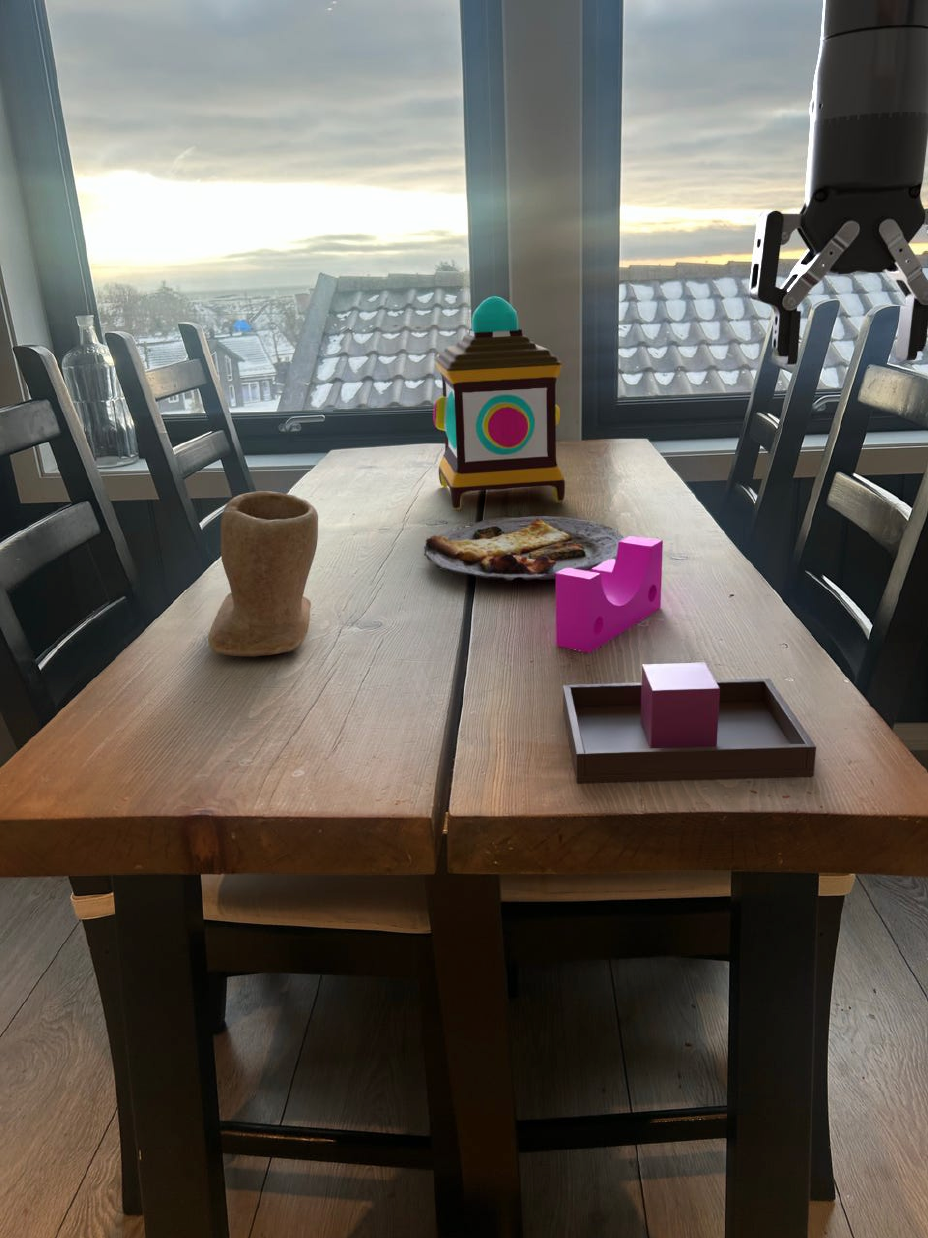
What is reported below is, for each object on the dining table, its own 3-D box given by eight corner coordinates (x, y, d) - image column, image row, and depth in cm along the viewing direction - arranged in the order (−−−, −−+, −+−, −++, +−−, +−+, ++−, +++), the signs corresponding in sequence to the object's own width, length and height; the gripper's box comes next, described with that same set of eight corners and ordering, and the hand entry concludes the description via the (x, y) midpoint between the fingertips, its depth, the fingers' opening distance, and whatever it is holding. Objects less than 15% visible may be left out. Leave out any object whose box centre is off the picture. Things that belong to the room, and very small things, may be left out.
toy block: (609, 597, 111) (610, 532, 108) (660, 607, 107) (662, 540, 104) (534, 640, 100) (533, 568, 97) (589, 653, 96) (589, 579, 93)
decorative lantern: (575, 504, 151) (575, 295, 140) (445, 513, 148) (435, 302, 138) (547, 476, 169) (545, 290, 159) (430, 484, 167) (421, 296, 156)
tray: (767, 704, 84) (769, 678, 83) (813, 776, 73) (816, 747, 72) (562, 710, 84) (562, 684, 84) (576, 783, 73) (576, 754, 72)
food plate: (479, 605, 110) (478, 575, 109) (394, 555, 129) (392, 528, 128) (662, 566, 120) (663, 538, 119) (558, 525, 140) (557, 500, 139)
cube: (702, 719, 81) (705, 662, 79) (716, 748, 76) (720, 688, 74) (640, 721, 81) (642, 664, 79) (650, 750, 76) (652, 690, 74)
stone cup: (323, 662, 96) (309, 510, 91) (199, 668, 96) (178, 517, 91) (335, 609, 111) (324, 475, 105) (227, 614, 110) (210, 480, 105)
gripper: (779, 111, 64) (762, 371, 70) (1004, 101, 64) (969, 363, 69) (749, 125, 71) (736, 359, 77) (951, 116, 71) (923, 352, 76)
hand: (847, 361), depth 73 cm, fingers open, 8 cm apart
